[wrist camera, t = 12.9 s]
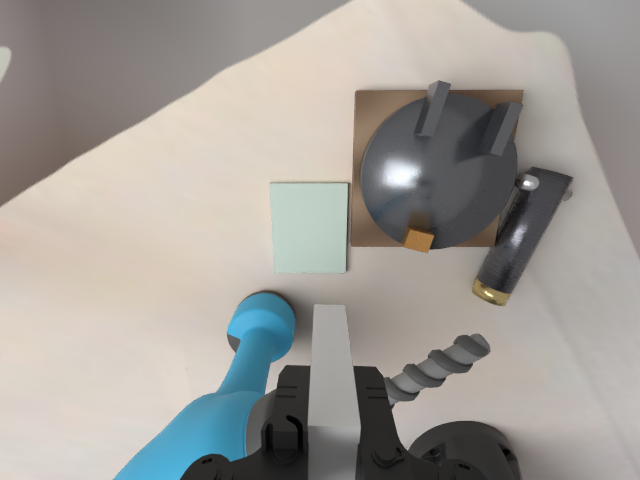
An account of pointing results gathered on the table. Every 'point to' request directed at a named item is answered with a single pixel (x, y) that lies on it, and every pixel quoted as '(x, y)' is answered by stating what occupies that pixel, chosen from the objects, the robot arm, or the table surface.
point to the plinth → (366, 120)
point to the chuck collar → (439, 168)
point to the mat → (309, 227)
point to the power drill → (249, 391)
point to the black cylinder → (521, 233)
